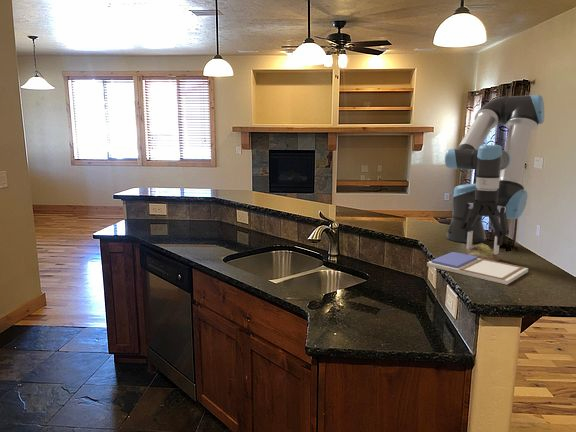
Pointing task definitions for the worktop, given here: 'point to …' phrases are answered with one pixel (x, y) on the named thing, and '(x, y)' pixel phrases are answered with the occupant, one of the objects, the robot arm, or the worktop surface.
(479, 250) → the rock
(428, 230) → the worktop surface
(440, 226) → the worktop surface
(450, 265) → the board
